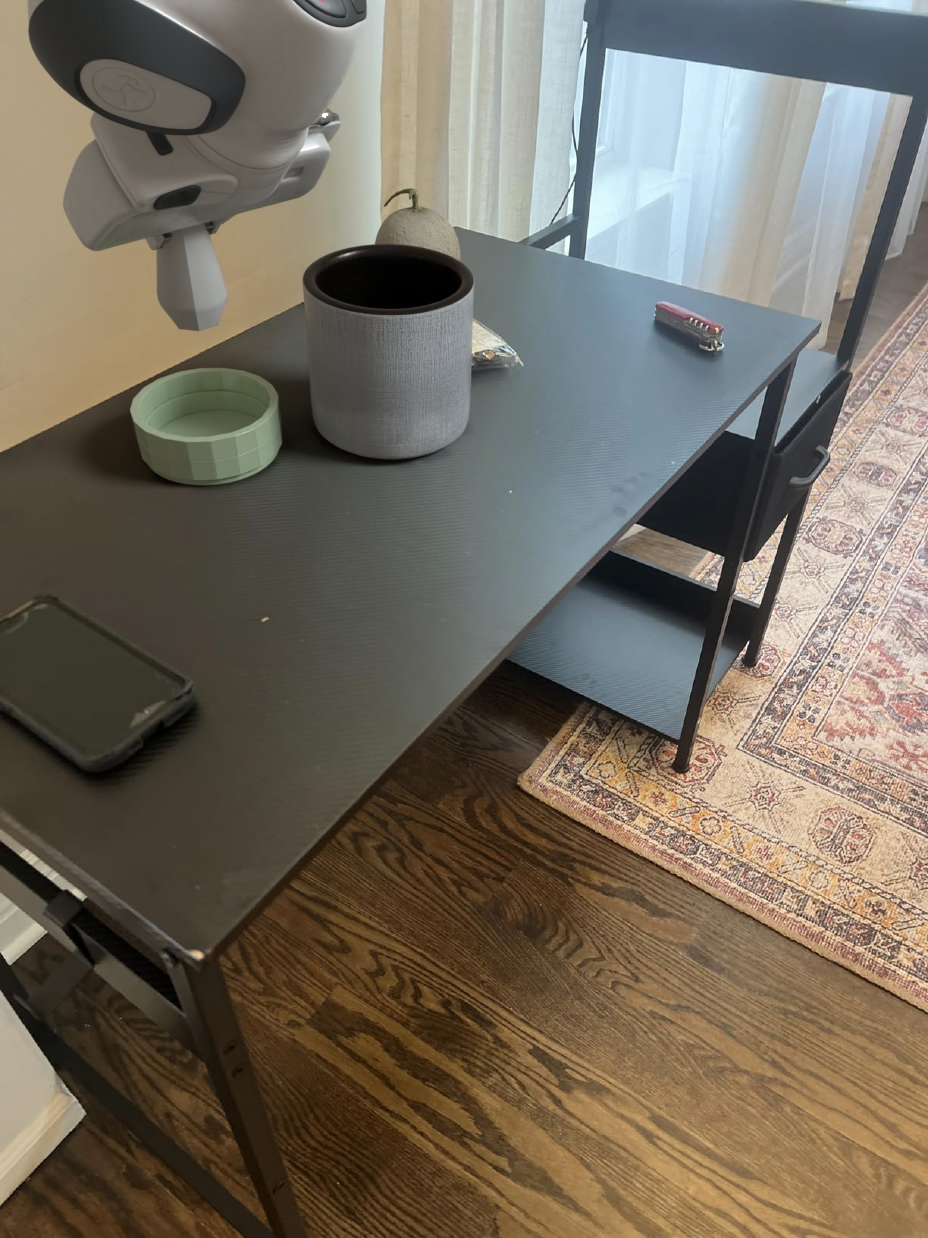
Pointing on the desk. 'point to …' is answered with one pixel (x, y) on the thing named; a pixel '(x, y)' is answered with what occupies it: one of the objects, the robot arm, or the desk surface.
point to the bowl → (207, 425)
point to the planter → (389, 349)
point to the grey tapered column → (191, 280)
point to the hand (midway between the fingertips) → (178, 233)
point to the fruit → (418, 228)
